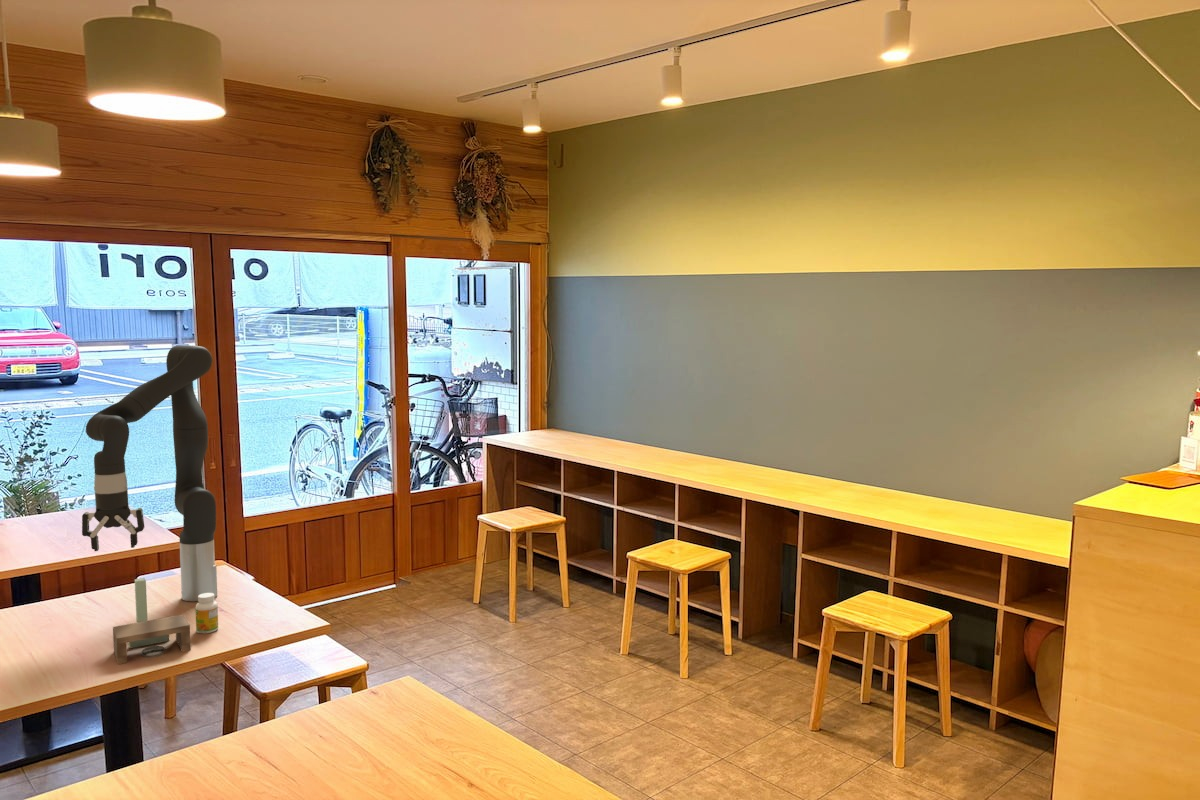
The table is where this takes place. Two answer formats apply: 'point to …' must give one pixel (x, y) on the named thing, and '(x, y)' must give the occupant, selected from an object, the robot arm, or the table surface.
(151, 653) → the token
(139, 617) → the rake
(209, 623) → the supplement bottle
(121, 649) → the wooden arch
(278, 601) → the table surface
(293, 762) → the table surface
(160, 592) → the table surface
